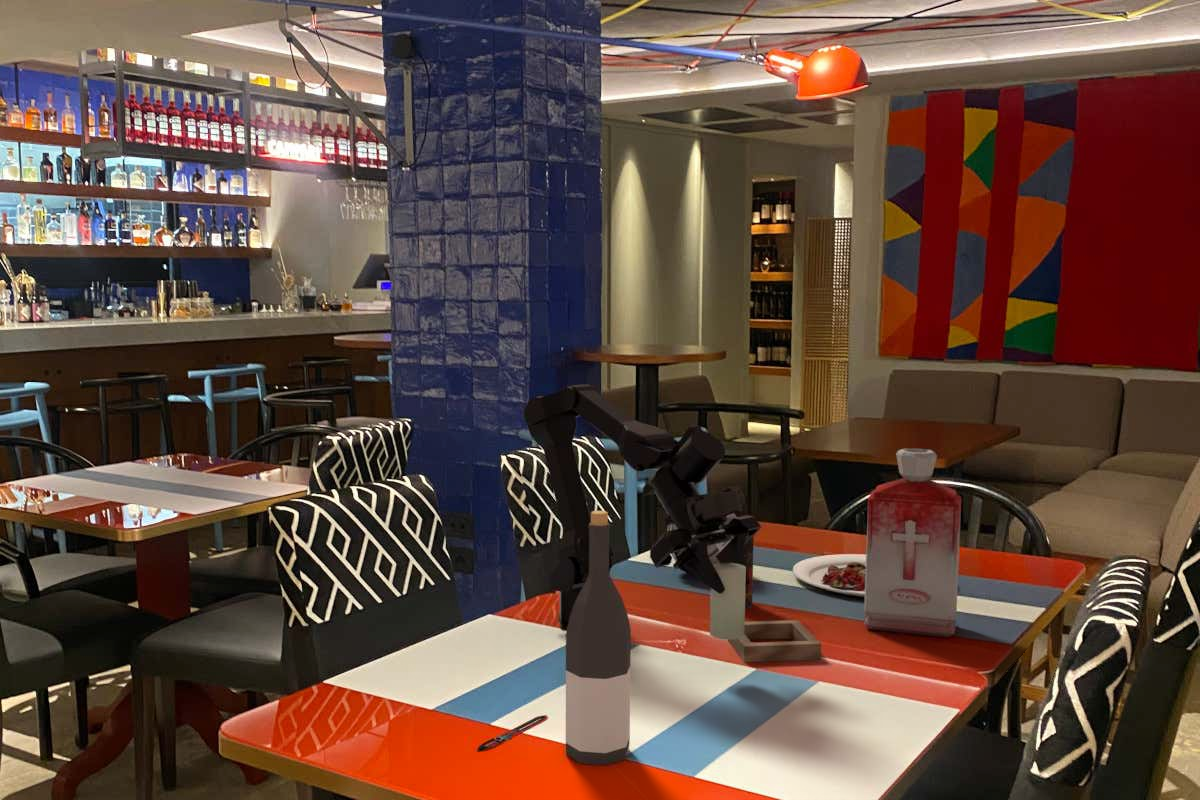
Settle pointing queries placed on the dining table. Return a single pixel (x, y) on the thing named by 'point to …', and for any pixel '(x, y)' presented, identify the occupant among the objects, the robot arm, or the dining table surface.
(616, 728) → the wine bottle
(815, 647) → the collar
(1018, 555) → the dining table surface
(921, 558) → the bottle
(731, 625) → the pale green cylinder
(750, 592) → the deodorant
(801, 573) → the plated food
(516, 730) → the pen
